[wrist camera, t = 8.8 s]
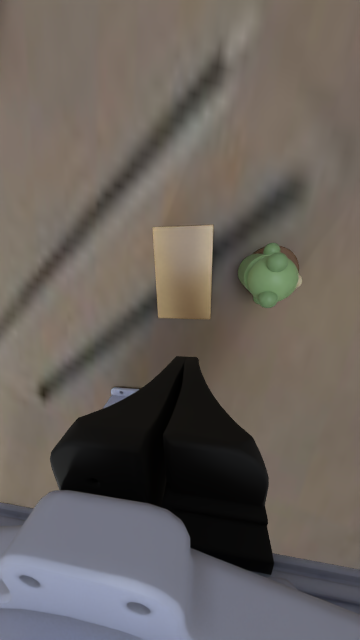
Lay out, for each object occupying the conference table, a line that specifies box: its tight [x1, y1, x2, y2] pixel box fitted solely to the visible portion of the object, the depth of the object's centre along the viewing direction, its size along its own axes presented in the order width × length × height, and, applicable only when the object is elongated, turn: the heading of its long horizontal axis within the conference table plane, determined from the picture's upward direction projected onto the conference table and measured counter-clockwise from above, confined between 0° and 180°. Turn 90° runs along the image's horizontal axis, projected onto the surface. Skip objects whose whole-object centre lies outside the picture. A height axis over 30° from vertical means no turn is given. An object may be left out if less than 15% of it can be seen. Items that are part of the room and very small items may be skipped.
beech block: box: [153, 225, 213, 319], centre depth 19 cm, size 5×8×3 cm, turn 1°
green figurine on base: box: [238, 243, 302, 308], centre depth 16 cm, size 8×5×7 cm
